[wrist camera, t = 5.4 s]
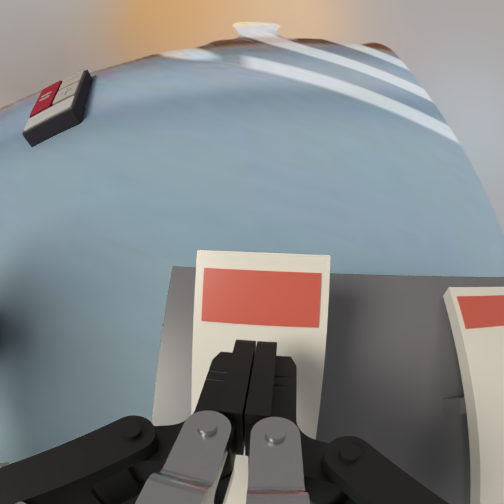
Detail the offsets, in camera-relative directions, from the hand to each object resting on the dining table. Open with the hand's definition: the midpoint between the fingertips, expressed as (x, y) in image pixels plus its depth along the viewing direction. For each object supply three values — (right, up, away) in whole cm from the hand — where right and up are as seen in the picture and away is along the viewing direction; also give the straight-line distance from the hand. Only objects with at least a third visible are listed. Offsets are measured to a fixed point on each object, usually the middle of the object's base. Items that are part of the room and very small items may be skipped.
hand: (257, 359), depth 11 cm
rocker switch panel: (+8, -9, +12) cm, 17 cm away
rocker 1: (0, -4, +2) cm, 5 cm away
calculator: (-35, +30, +34) cm, 57 cm away
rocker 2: (+15, -5, +1) cm, 16 cm away
